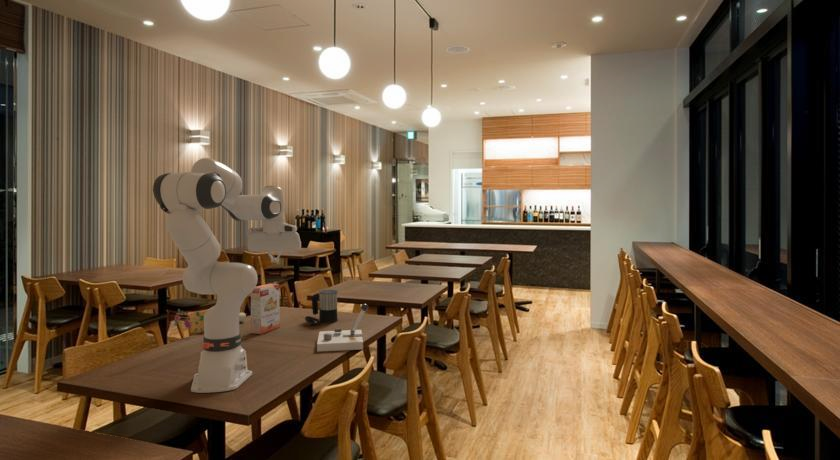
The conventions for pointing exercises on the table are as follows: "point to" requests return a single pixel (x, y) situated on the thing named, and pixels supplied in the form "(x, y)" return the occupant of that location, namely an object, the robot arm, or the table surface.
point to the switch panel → (340, 341)
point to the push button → (327, 336)
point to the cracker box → (265, 308)
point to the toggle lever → (359, 318)
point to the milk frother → (324, 307)
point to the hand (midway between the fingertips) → (275, 262)
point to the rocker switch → (337, 330)
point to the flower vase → (188, 324)
